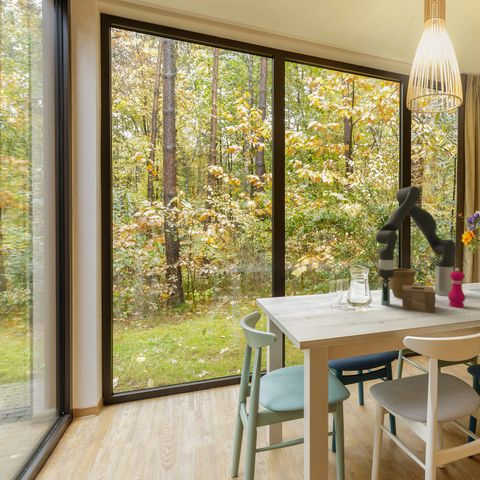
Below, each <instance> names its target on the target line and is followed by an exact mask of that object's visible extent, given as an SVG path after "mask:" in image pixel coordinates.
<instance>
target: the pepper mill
mask: <svg viewBox="0 0 480 480" xmlns="http://www.w3.org/2000/svg"><path fill="white" fill-rule="evenodd" d="M450 277H451V279H452V280H451V281H452V282H451V283H452V289H451V291H450V293H449V296H447V298H448V300H449V302H448V303H449V304H448V305H449V306H450V307H452V308H459V309H460V308H464V307H465V303H464V302H465V301H466V295H465V294H464V291H463V287H462V286H463V283H464V279H465V274H464V272H462V271H460V268H459V267H456V268H455V270H453V272H452V273H451V274H450Z"/></svg>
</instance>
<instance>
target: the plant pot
mask: <svg viewBox="0 0 480 480" xmlns="http://www.w3.org/2000/svg"><path fill="white" fill-rule="evenodd" d="M415 276H416V270H415V269H411V268H410V269H409V268H394V277H392V278H388V279H389V280H390V290H391V291H392V295H393V296H394V298H397V299H398V298H400V299H402V298H403V285H410V286H414V282H415Z"/></svg>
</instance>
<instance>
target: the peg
mask: <svg viewBox="0 0 480 480" xmlns="http://www.w3.org/2000/svg"><path fill="white" fill-rule="evenodd" d="M384 291H387V290H384ZM390 295H391V287H389V290H388V301H383V289H382V288H381V304H380V305H381V306H390V304H391V300H390V298H391V296H390Z"/></svg>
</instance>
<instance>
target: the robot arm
mask: <svg viewBox="0 0 480 480" xmlns="http://www.w3.org/2000/svg"><path fill="white" fill-rule="evenodd" d="M395 197H396V200H397V202H398V203H399V206H398V208H396V209H395V210H394V211H393V212H392V213H391V214H390V215H389V217H388V219H387V220H386V223H385V224H383V225H382V227H380V228H379V229H378V231H377V232H376V234H375V240H376V242H377V243H378V244H381V245H382V244H383V245H384V244H385V245H386V247H383V248H380V249H379V250H378V269H377V272H378V273H377V274H378V277H379V278H382V279H381V290H382V289H383V301H388V290H389V288H391V286H390V280H389V279H388V278H392V277H394V269H395V262H394V252H395V249H396V245H397V242H398V238H399V237H398V233H397V232H398V231H399V229H400V227H402V226H401V225H402V224H403V222H404V221H405V219H406V217H407V215H409V216H410V217H411V219H412V220H413V221H414V223H415V225H416V226H417V227H418V229H419V230H420V232H421V233H422V234H423V236H424V238H425V239H426V241H427V242H428V244H429V246H430V248H431V250H432V251H433V252H434V253H435V255H436V254H437V255H442V258H441V259H437V260H436V261H435V263H434V291H435V295H438V296H443V297H448V296H449V293H450V291H451V289H452V283H451V282H452V281H451V280H452V279H451V277H450V274H451V273H452V272H453V271H454V265H455V261H456V252H457V249H456V248H457V247H456V246H457V245H456V243H455V241H454V240H451V239H441V238H440V237H439V236H438V234H437V226H438V224H437V221H436V220H435V219H434V217H433V215H432V214H431V213H430V212H429V211H427V210H425V209H423V208H421V207H419V206H418V205H417V202H418V201H419V200H420V199H421V190H420V188H419V187H418V186H416V185H411V186H408V187H402V188H399V189H397V191H396V192H395ZM384 290H387V291H384Z"/></svg>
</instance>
